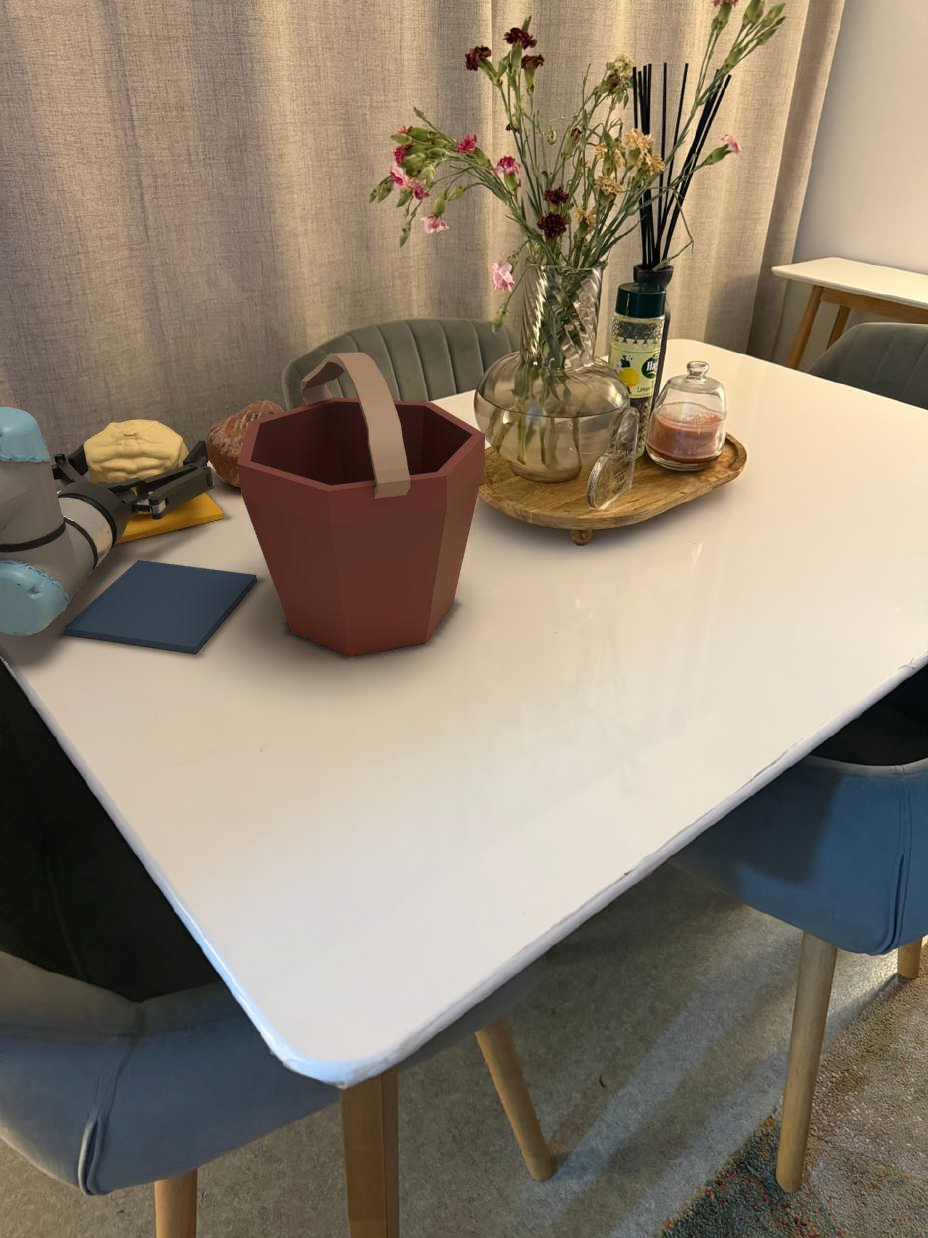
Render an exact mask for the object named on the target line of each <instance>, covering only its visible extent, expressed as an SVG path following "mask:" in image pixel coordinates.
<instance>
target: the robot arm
mask: <svg viewBox="0 0 928 1238" xmlns="http://www.w3.org/2000/svg"><path fill="white" fill-rule="evenodd" d="M91 437H92V436H90V437H89V438H88V439H90V438H91ZM84 443H85V442H83V443H82V444H81V445H80V446H79V447H78V448H77V449H76V450H75V451H74V452H71V453H69V454H67V456H66V455H65V453H56V454H54V455H53V459H54V462H55V464H51V460H52V458H51V455H50V453H49V450H48V448H47V445H46V442H45V438H44V436H43V434H42V432H41V429H40V426H39V424H38V421H37V419H36V418H35V417H34V416H33V415H32V414H31V413H29V411H26V410H23V409H20V408H16V407H15V408H14V407H12V406H0V632H1V633H4V634H8V635H13V636H21V637H22V636H31V635H35V634H37V633H39V632H42V631H43V630H45V629H46V628H47V627H48V626H49V625H50V624H51V623H52V622H53V621H54V620H56V618H57V617H58V616H59V615H60V614H63V613H64V612H65V611H66V610H67V608H68V607H69V603H71V600H72V599H73V598H74V597H75V595H76V594H77V593H78V591H79V590H80V589H81V588H82V586H83V585H84V584H85V582H86V581H87V580H88V579H89V577H90V576H91V575H92V574H93V572H94V571H95V570H96V569H97V567H98V566H99V565H100V564H101V562H102V561H103V560H104V559H105V558H106V556H107V554H109V552H110V551H111V550H112V549H113V548H114V546H115V545H117V544H116V543H117V541H118V540H119V539H120V538H121V536H122V535H123V533H124V532H125V529H126V527H127V524H128V521H129V519H130V518H131V517H133V516H135V515H137V514H138V513H139V512H150V513H151V517H152V519H154V520H159V519H162V518H163V517H164V516H165V515H166V514H167V513H168V512H169V511H170V510H172V509H174V508H176V507H178V506H180V505H182V504H184V503H186V502H188V501H190V500H191V499H193V498H195V497H197V496H199V495H201V494H203V493H207V492H209V491H210V490H212V489H214V488H215V484H214V476H213V471H212V467H211V466H210V465H208V463H210V461H209V460H208V454H207V447H206V440H198V442H197V443H196V444H195V445H194V446H193V448H192V449H191V451H189V454H188V455H187V457H186V458H185V459H184V460H183V466H182V467H179V468H175V469H172V470H169V471H166V472H163V473H160V474H157V475H154V476H151V477H148V478H145V479H140V478H139V477H134V478H131V479H128V480H125V481H122V482H119V483H118V482H112V483H106V482H97V483H92V480H89V479H88V478H87V477H86V476H85V475H86V474H87V472H89V470H88V465H87V462H86V456H85V451H84ZM58 480H59V482H60V484H62V485H63V486H64V487H63V488H61V490H59V492H58V490H57V486H56V481H58ZM133 487H135V489H136V493H137V496H136V494H135V493H134V492H133V490H132V489H131V488H133Z"/></svg>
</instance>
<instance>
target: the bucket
mask: <svg viewBox="0 0 928 1238" xmlns="http://www.w3.org/2000/svg"><path fill="white" fill-rule="evenodd" d="M344 373H345V374H346V375H347V378H348V380H349V381H350V383H351V385H352V387H353V389H354V392H355V395H356V397H335V396H334V395H333V394H332V393H331V392H330V391H329V388H328V385H327V383H328V382H331V381H336V380H337V379H338V378H339V377H340V376H341V375H343V374H344ZM299 390H300V394H301V399H302V402H303V404H304V405H302V406H299V407H295V408H291V409H288V410H285V411H284V410H283V411H284V412H281V413H277V414H274V415H270V416H267V417H263V418H260V419H256V420H253V421H249V424H248V427H247V431H246V434H245V438H244V441H243V445H242V448H241V452H240V455H239V459H238V462H237V466H238V473H239V480H240V487H239V488H240V494H241V497H242V500H243V503H244V506H245V509H246V512H247V514H248V517H249V519H250V522H251V525H252V527H253V530H254V533H255V536H256V538H257V542H258V544H259V547H260V550H261V553H262V555H263V558H264V560H265V561H264V562H265V564H266V567H267V568H268V571H269V575H270V578H271V580H272V583H273V586H274V589H275V592H276V594H277V597H278V599H279V602H280V605H281V608H282V611H283V613H284V616H285V619H286V621H287V624H288V627H289V629H290V632H291V634H294V635H297V636H299V637H301V638H303V639H306V640H308V641H311V642H314V643H316V644H319V645H322V646H324V647H326V648H328V649H331V650H334V651H336V652H338V653H341V654H343V655H346V656H348V657H355V656H361V655H367V654H372V653H377V652H379V653H380V652H384V651H389V650H394V649H401V648H407V647H411V646H415V645H416V646H417V645H421V644H426V643H427V642H428V641H429V639H430V638H431V636H432V635H433V634H434V633H435V631H436V629H437V628H438V627H439V625H440V624H441V623H442V621H443V619H444V618H445V617H446V615H447V614H448V612H449V611H450V609H452V606H453V605H454V601H455V597H456V594H457V593H456V592H457V588H458V584H459V579H460V575H461V571H462V566H463V562H464V557H465V554H466V548H467V544H468V539H469V535H470V531H471V526H472V523H473V517H474V513H475V509H476V505H477V500H478V496H479V491H480V486H481V482H482V478H483V474H484V468H485V465H486V464H485V463H486V433H484V432H483V431H481V430H479V429H478V428H476V427H474V426H472V425H470V424H469V423H468V422H466V421H464V420H463V419H461V418H459V417H457V416H455V415H454V414H453V413H451V412H449V411H448V410H446V409H444V408H442V407H441V406H439V405H437V404H436V403H434V402H432V401H419V400H418V401H417V400H398V399H397V400H396V399H393V397H392V394H391V392H390V388H389V386H388V383H387V381H386V379H385V377H384V375H383V374H382V372H381V371H380V369H379V367H378V366H377V363H376V362H375V361H374V359H373V358H371V357H370V356H369V355H368V354H367V353H365V352H340V353H328V354H327V356H326V357H324V359H323V360H322V361H321V363H320V364H319V365H317V366H316V367H315V368H314V369H313V370H312V371H310V372H309V373H308V374H307V375H305V377H303V379H302V380H301V381H300V384H299Z"/></svg>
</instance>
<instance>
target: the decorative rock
mask: <svg viewBox="0 0 928 1238" xmlns="http://www.w3.org/2000/svg"><path fill="white" fill-rule="evenodd" d="M281 412H284V409H283V408H282V407H281V406H280V405H279V404H278V403H275V402H273V401H271V400H268V399H263V400H256V401H254V402H252V403H250V404H248V405H246V406H244V407H243V408H240V410H238V411H237V412H235V413H234V414H231V415H230V416H227V417H226V418H222V419H221V418H220V419H219V420H216V421H215V422H213V423H212V424H211V425H210V427H209V428H208V430H207V433H206V436H205V441H206V447H207V454H208V460H209V463H210V464H211V466H212V467H213V469H214V470H215V472H216V474H217V475H218V477H219V478H220V479H221V480H222V482H224V483H225V484H228V485H230V486H234V487H237V488H241V487H240V480H239V473H238V466H237V462H238V459H239V455H240V452H241V448H242V445H243V441H244V438H245V434H246V431H247V427H248V424H249V421H253V420H256V419H260V418H263V417H267V416H270V415H274V414H277V413H281Z"/></svg>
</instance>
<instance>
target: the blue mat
mask: <svg viewBox="0 0 928 1238" xmlns="http://www.w3.org/2000/svg"><path fill="white" fill-rule="evenodd" d="M257 582H258V577H257V574H251V573H245V572H236V571H230V570H229V571H228V570H222V569H214V568H206V567H197V566H189V565H181V564H174V563H167V562H160V561H152V560H150V561H149V560H143V559H138V560H136V561H135V562H134V563H133V564H132V565H131V566H129V568H127V569H126V570H125V571H124V572H123V573H122V574H121V575H120V576H118V577H117V579H115V580H114V581H113V583H111V584H110V585H108V587H106V589H105V590H104V591H102V592H101V593H100V594H99V595H98V596H97V597H95V599H94V600H93V601H91V602H90V603H89V604H88V605H87V606H86V607H85V608H83V610H82V611H80V612H79V613H78V614H77V615H76V616H75V617H73V619H72V620H70V621H69V622H68V623H67V624H66V625H64V627H63V630H64V634H65V635H66V636H67V635H68V636H74V637H81V638H88V639H95V640H100V641H107V642H115V643H122V644H129V645H134V646H141V647H147V648H148V647H149V648H154V649H162V650H169V651H177V652H182V653H189V654H196V655H197V654H198V652H199V651H200V650H201V649H202V648H203V646H204V645H205V644H206V643H207V641H209V640H210V638H211V637H212V636H213V634H214V633H215V632H216V630H218V628H219V627H220V626H221V625H222V624H223V622H224V621H225V620H226V619H227V618H228V617H229V616H230V614H231V613H232V612H233V610H234V609H236V607H237V606H238V605H239V603H240V602H241V601H242V600H243V599H244V597H245V596H246V595H248V593H249V591H250V590H251V589H252V588H253V587H254V586H255V584H256V583H257Z"/></svg>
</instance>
